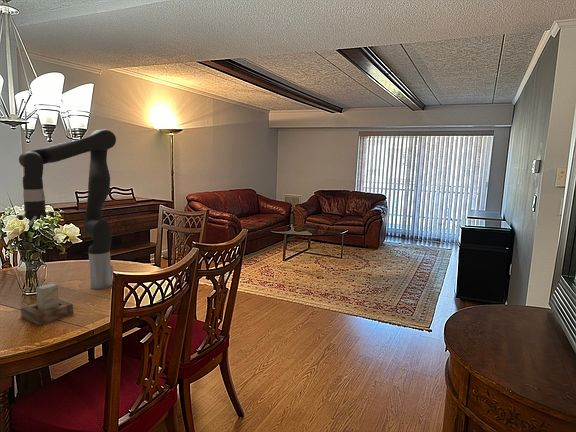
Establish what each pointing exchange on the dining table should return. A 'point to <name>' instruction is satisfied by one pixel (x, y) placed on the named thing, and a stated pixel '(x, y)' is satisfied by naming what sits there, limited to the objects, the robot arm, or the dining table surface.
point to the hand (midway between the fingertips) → (37, 237)
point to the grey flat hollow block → (46, 312)
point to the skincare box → (47, 296)
